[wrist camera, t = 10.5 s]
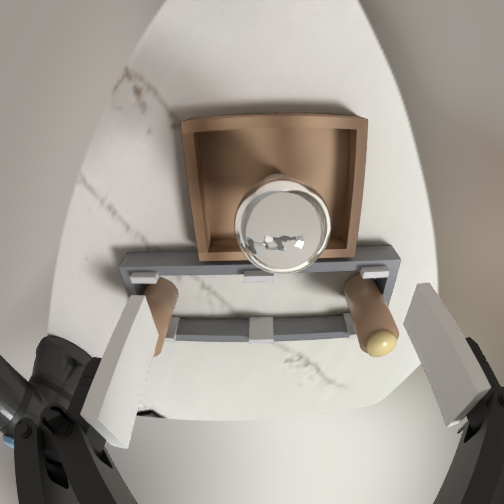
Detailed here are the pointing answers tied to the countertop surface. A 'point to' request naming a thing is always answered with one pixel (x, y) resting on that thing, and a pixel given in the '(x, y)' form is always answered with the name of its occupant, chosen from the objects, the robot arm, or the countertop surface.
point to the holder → (256, 328)
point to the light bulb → (282, 224)
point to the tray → (273, 171)
